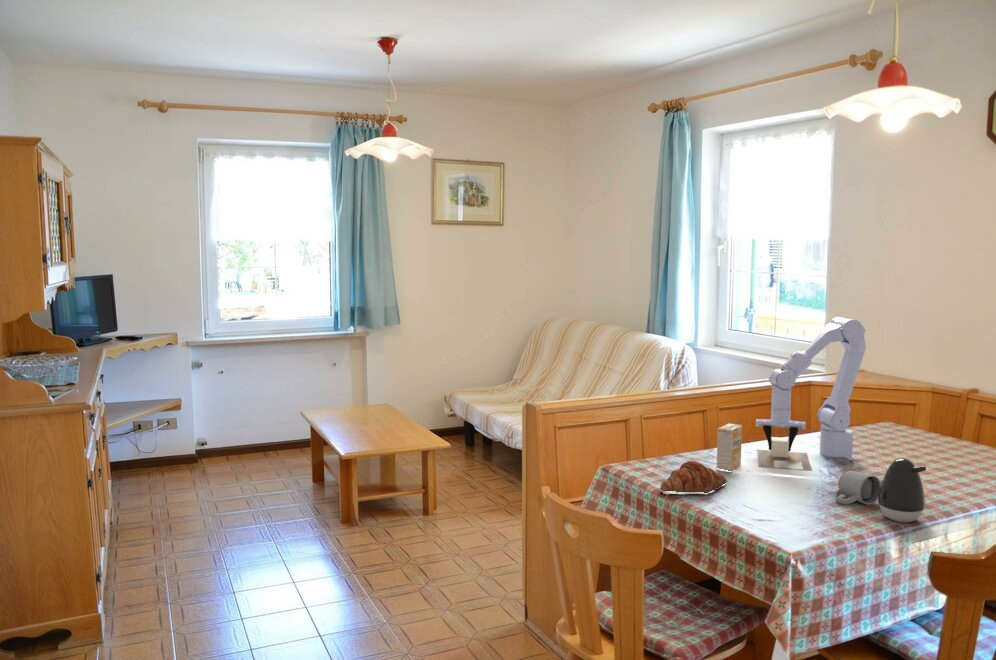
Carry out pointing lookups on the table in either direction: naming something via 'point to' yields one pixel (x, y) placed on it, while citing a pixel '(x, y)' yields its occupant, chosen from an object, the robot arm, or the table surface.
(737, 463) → the supplement box
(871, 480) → the ceramic mug
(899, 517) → the pump dispenser
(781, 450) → the off-white matte cube
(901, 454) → the table surface
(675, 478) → the pastry
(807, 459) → the walnut board
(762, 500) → the table surface
